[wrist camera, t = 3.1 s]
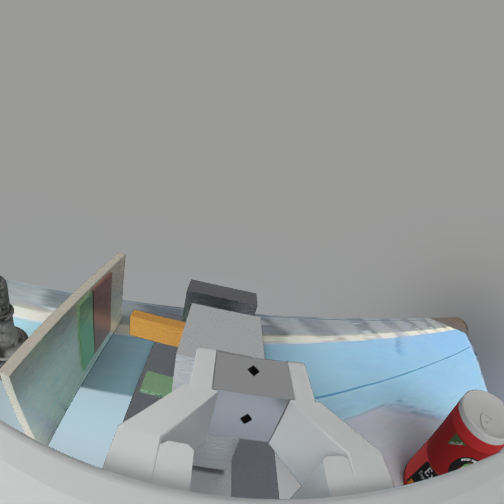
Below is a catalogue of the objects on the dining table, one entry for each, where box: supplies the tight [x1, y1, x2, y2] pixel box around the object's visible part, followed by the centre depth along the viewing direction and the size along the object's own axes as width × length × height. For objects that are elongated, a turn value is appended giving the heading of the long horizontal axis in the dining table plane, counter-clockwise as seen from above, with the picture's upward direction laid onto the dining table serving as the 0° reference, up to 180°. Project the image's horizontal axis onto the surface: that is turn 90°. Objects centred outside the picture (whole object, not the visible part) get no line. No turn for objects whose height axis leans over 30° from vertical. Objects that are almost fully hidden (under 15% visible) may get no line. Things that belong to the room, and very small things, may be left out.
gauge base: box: [0, 253, 279, 499], centre depth 26 cm, size 30×21×10 cm
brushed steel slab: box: [130, 303, 265, 470], centre depth 20 cm, size 6×8×12 cm
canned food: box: [404, 390, 504, 485], centre depth 19 cm, size 8×8×11 cm
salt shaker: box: [0, 276, 28, 381], centre depth 21 cm, size 6×6×12 cm
